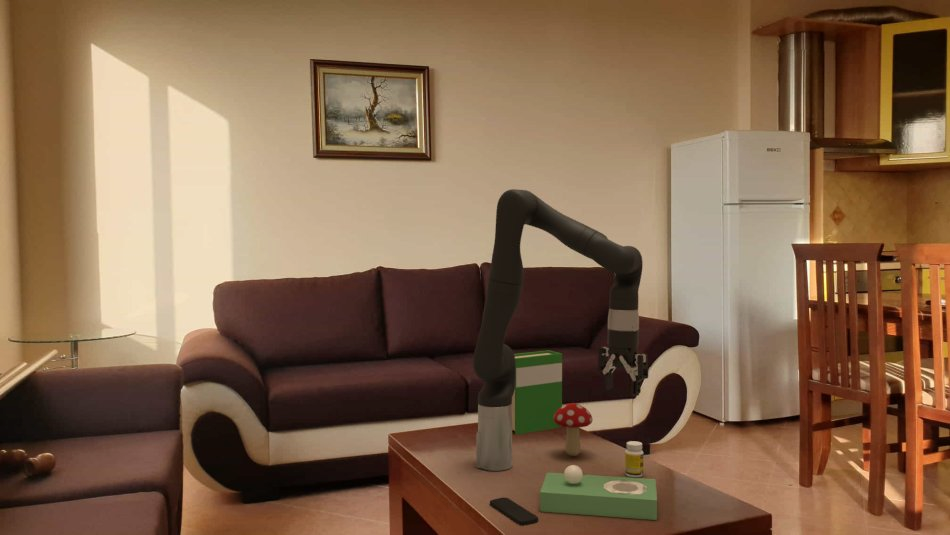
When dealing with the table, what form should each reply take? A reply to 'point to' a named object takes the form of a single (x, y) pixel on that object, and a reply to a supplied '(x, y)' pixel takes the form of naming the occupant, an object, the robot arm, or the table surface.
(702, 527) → the table surface
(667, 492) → the table surface
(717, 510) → the table surface
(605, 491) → the green flat block
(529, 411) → the hardback book
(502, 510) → the remote control
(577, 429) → the decorative mushroom
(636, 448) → the supplement bottle
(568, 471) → the ball
